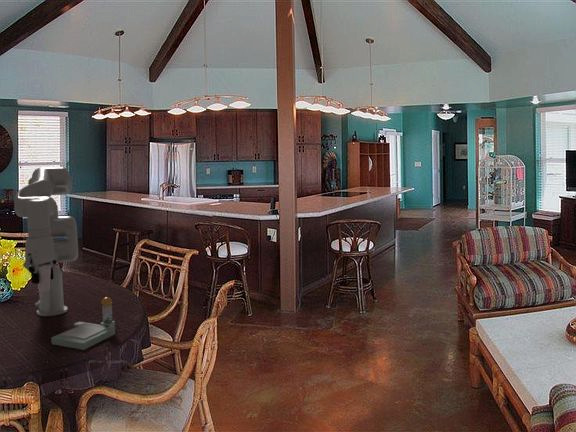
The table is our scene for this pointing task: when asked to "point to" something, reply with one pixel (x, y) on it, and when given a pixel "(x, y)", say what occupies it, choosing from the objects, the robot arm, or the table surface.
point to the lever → (107, 312)
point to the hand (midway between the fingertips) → (42, 280)
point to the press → (83, 335)
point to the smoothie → (44, 277)
